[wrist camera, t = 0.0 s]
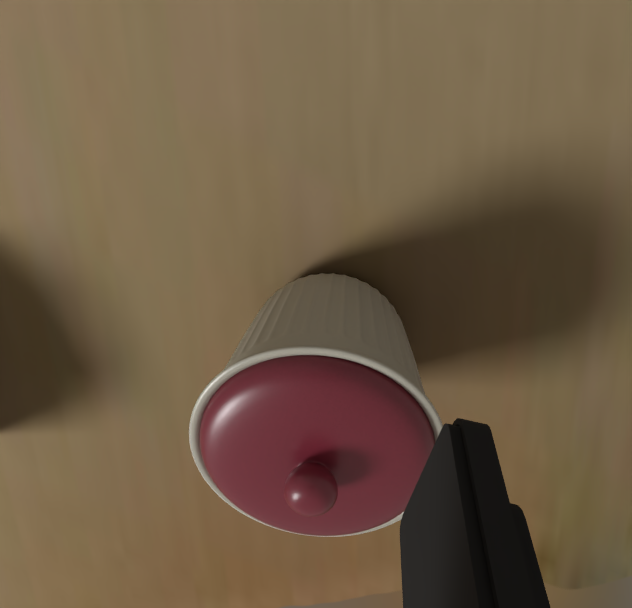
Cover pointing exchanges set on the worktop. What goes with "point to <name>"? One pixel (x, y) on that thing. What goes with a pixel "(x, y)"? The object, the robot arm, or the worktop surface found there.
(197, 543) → the worktop surface
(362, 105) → the worktop surface
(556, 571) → the worktop surface
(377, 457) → the canister
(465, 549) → the robot arm
